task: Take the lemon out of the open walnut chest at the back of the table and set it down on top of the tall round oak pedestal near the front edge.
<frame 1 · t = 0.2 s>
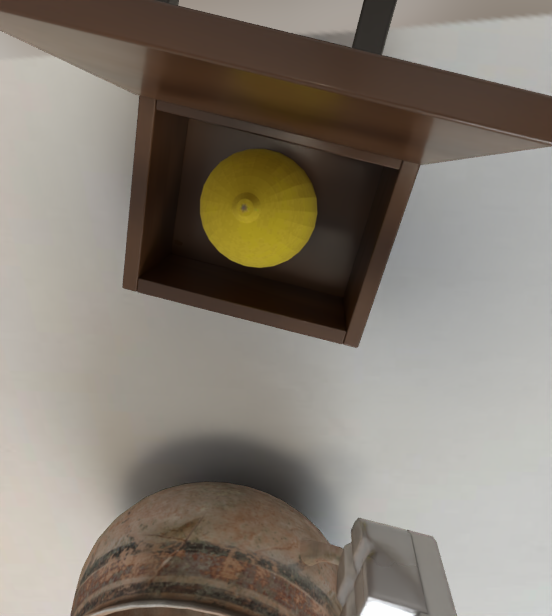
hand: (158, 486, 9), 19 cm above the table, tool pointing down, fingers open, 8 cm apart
cooking pot: (236, 524, 36), on the table
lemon: (270, 212, 25), point 1 cm above the table, touching chest
chest: (272, 209, 25), on the table
lid: (281, 21, 12), point 11 cm above the table, hinge at 95.0°
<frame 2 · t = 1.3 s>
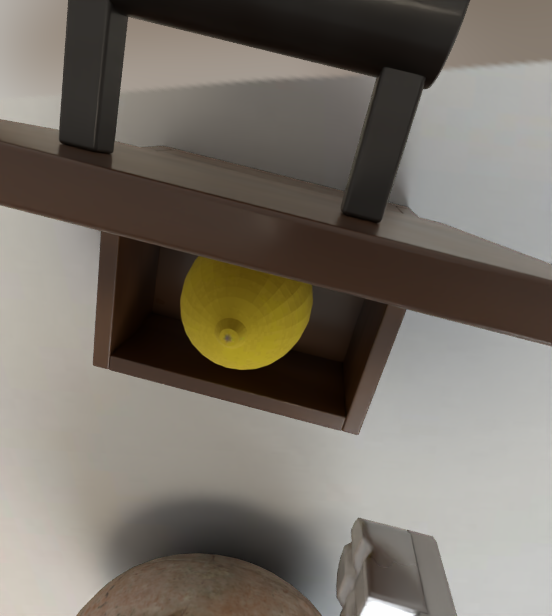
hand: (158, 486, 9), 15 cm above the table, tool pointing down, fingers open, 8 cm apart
cooking pot: (227, 586, 33), on the table
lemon: (262, 269, 22), point 1 cm above the table, touching chest
chest: (264, 266, 23), on the table
lid: (261, 109, 10), point 11 cm above the table, hinge at 95.0°
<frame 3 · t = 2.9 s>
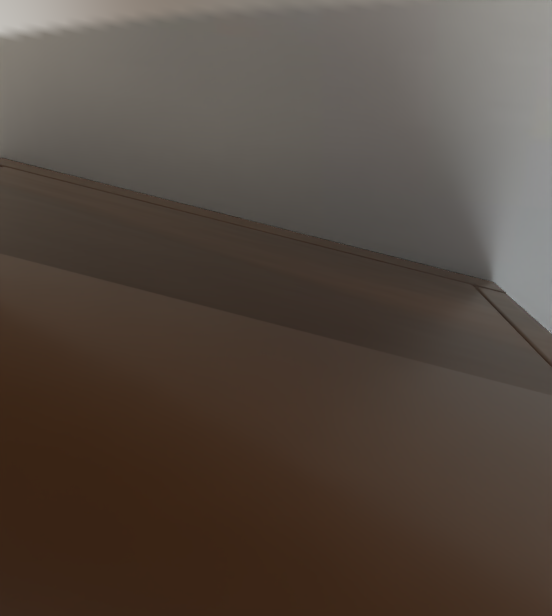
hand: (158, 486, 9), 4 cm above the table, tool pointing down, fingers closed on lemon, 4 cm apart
chest: (210, 380, 12), on the table
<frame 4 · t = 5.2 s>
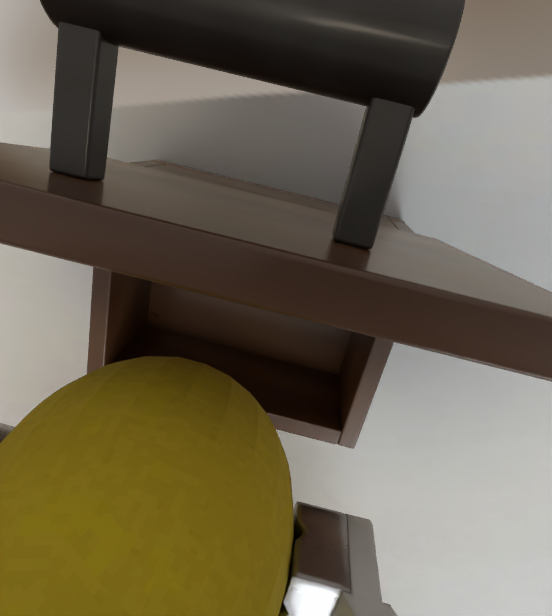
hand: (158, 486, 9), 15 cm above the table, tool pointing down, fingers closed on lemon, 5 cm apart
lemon: (199, 392, 12), point 12 cm above the table, touching gripper
chest: (259, 279, 23), on the table
lid: (253, 132, 10), point 11 cm above the table, hinge at 95.0°
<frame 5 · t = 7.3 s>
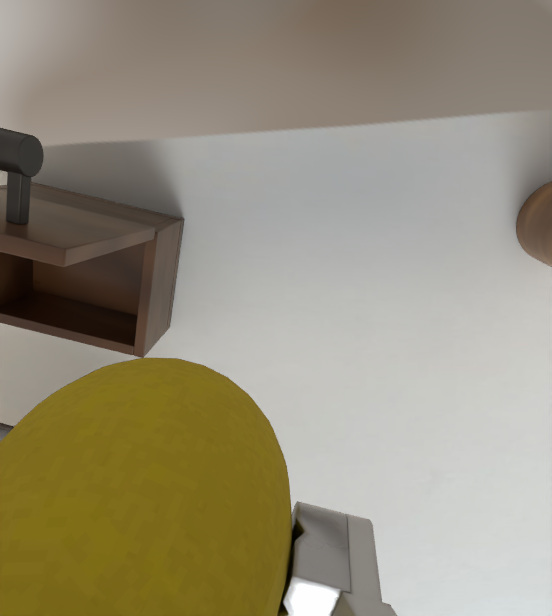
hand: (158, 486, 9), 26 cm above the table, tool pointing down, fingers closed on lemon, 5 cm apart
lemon: (197, 394, 12), point 23 cm above the table, touching gripper
chest: (103, 258, 35), on the table
lid: (7, 177, 22), point 11 cm above the table, hinge at 95.0°
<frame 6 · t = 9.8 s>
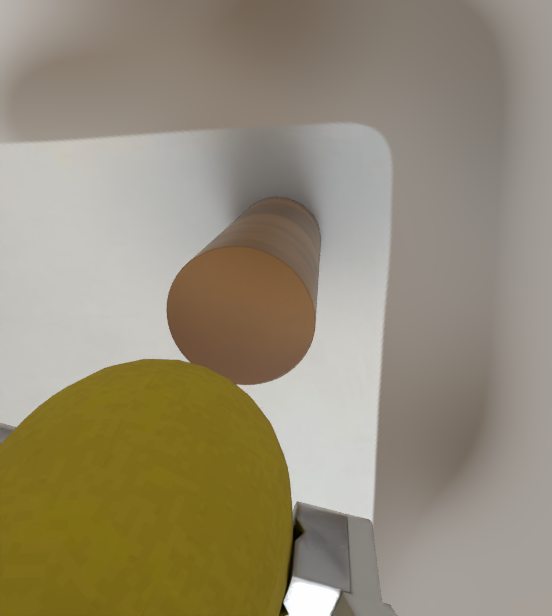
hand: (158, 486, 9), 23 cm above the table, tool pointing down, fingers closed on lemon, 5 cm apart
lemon: (198, 395, 12), point 20 cm above the table, touching gripper
stand: (277, 241, 30), on the table
when the fingers open (17 cm above the table, at t = 11.6 s): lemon stays where it is, resting on stand.
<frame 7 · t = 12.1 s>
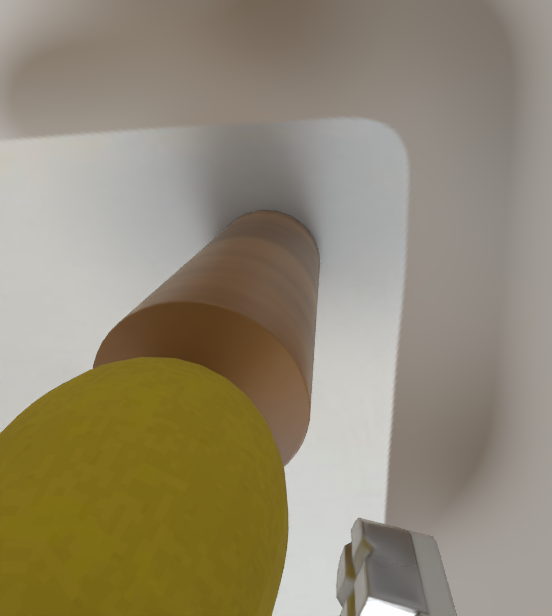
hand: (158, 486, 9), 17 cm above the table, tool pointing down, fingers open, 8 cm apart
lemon: (198, 394, 11), point 14 cm above the table, touching stand
stand: (267, 263, 24), on the table
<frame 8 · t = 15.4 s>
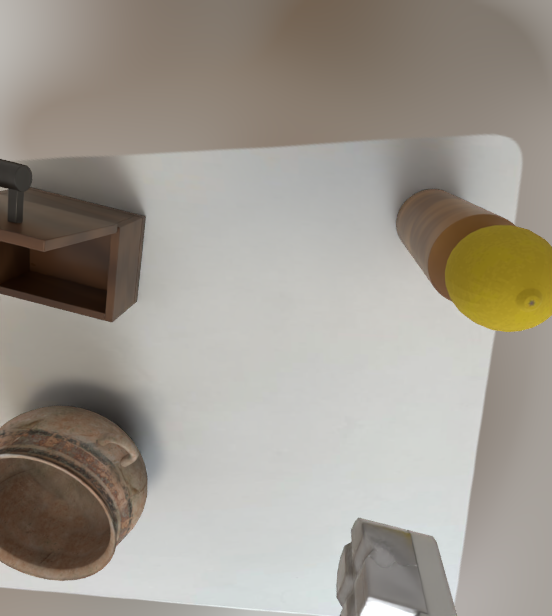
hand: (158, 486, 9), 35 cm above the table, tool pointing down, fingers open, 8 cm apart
cooking pot: (95, 442, 55), on the table
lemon: (475, 257, 27), point 14 cm above the table, touching stand
stand: (428, 221, 40), on the table
chest: (84, 246, 45), on the table
lid: (8, 189, 32), point 11 cm above the table, hinge at 95.0°
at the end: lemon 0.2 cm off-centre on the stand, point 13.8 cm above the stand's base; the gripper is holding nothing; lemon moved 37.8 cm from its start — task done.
